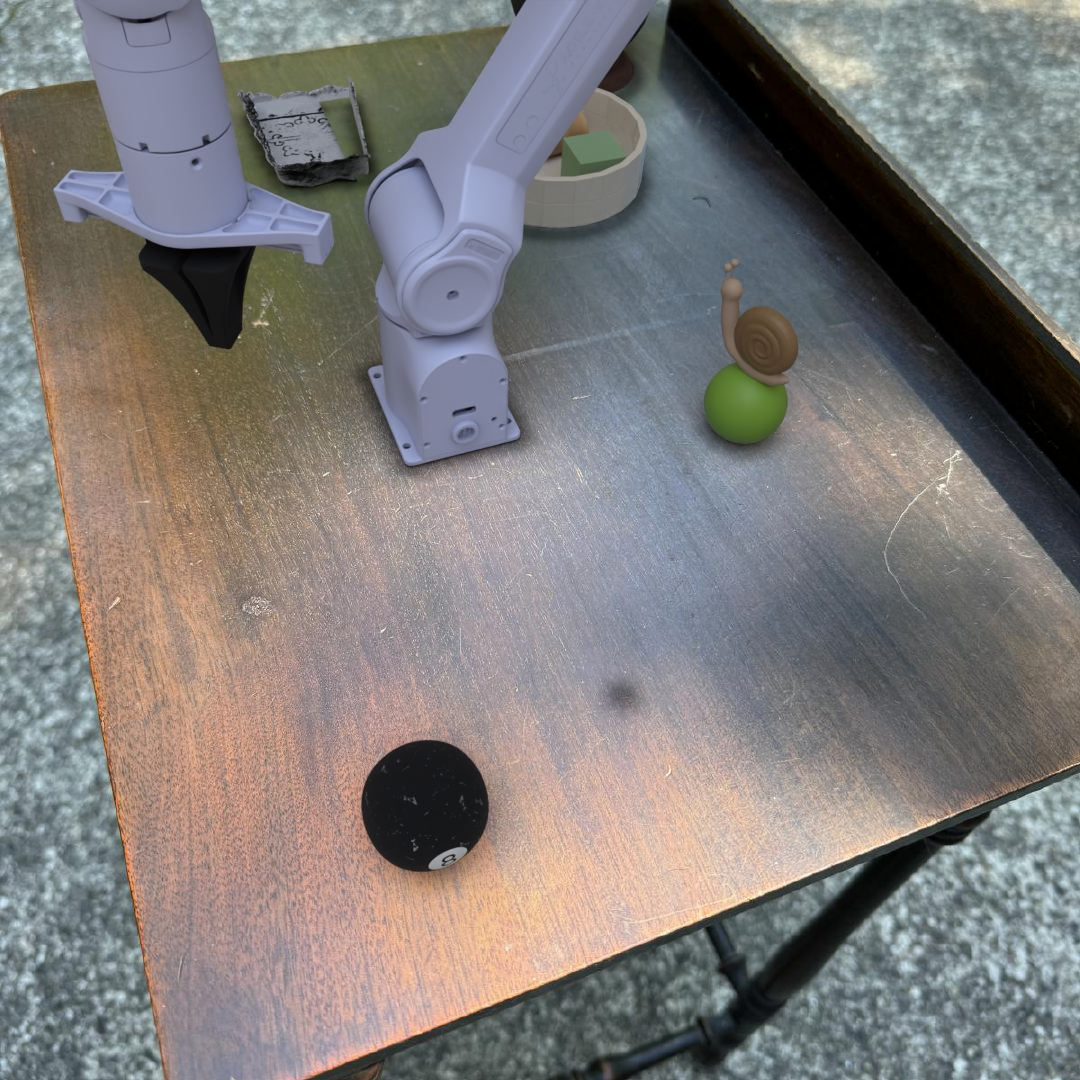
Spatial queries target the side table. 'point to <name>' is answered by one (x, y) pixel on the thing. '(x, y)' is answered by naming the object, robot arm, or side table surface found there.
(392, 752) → the billiard ball
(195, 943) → the side table surface
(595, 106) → the bowl
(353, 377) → the side table surface
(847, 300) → the side table surface
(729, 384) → the snail figurine
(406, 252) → the robot arm
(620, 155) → the green block
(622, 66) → the snow globe
